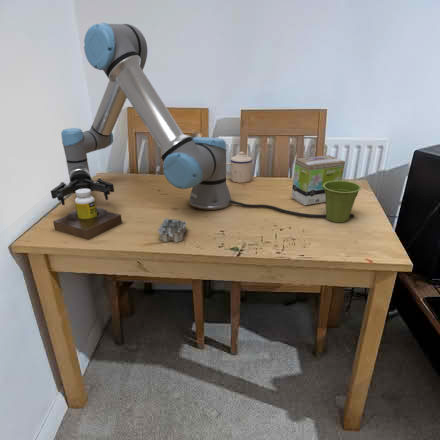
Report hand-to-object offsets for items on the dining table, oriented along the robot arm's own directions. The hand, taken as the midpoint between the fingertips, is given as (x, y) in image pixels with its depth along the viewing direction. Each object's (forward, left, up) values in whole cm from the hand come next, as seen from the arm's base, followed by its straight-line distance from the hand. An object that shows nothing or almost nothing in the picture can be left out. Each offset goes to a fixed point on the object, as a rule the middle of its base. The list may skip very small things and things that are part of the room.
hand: (84, 198), depth 132 cm
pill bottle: (0, 0, -9) cm, 9 cm away
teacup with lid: (-20, -66, -9) cm, 70 cm away
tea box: (-57, -59, -9) cm, 82 cm away
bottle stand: (-2, +2, -9) cm, 9 cm away
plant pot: (-70, -44, -9) cm, 83 cm away
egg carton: (-30, -6, -9) cm, 32 cm away
